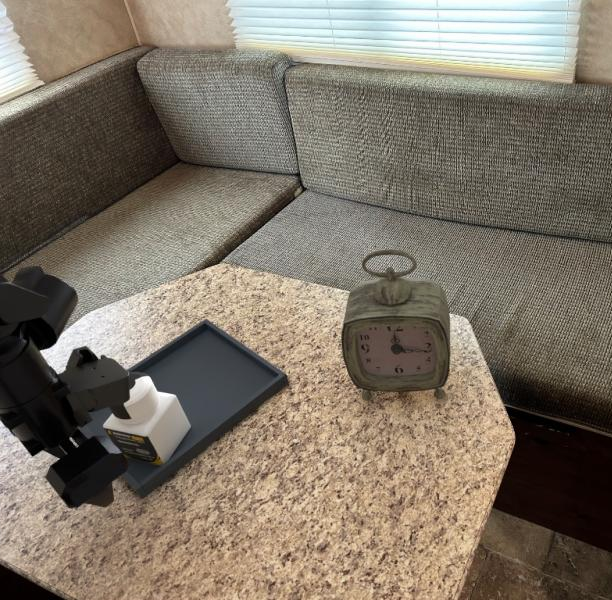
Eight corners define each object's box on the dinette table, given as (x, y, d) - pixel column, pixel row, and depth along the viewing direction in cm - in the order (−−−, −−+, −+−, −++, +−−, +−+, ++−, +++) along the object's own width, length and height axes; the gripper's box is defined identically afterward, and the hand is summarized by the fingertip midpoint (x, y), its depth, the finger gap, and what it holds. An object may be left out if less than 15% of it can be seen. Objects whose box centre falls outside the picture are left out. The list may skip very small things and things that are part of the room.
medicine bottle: (121, 457, 85) (85, 401, 77) (151, 418, 90) (120, 361, 82) (164, 467, 83) (132, 410, 75) (192, 426, 88) (164, 369, 80)
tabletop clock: (353, 408, 89) (325, 272, 73) (360, 363, 96) (335, 230, 80) (453, 407, 87) (445, 268, 71) (452, 362, 94) (445, 226, 78)
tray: (141, 499, 80) (136, 490, 79) (69, 419, 92) (63, 410, 91) (289, 383, 94) (286, 373, 92) (209, 327, 106) (206, 318, 104)
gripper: (147, 378, 56) (198, 476, 66) (60, 302, 67) (115, 396, 77) (28, 458, 50) (104, 552, 60) (-47, 361, 61) (28, 455, 71)
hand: (89, 480), depth 67 cm, fingers open, 9 cm apart
